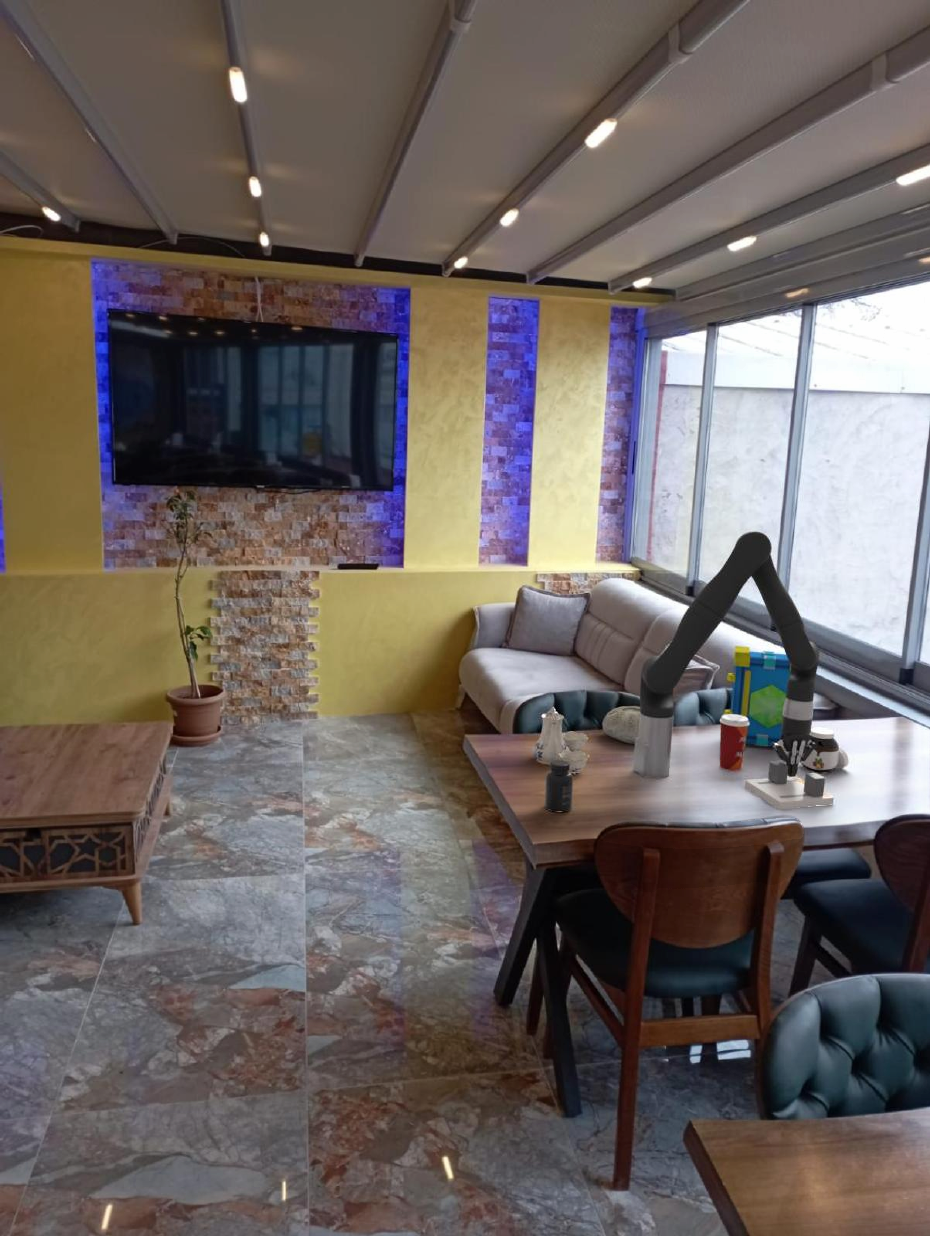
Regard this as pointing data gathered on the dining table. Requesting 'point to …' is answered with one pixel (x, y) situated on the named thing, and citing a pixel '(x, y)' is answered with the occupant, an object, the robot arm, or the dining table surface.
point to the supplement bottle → (559, 786)
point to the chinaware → (560, 743)
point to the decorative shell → (623, 723)
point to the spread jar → (825, 752)
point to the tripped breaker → (778, 772)
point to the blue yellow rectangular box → (759, 693)
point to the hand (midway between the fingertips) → (791, 775)
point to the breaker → (814, 784)
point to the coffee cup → (732, 741)
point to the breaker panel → (786, 793)
